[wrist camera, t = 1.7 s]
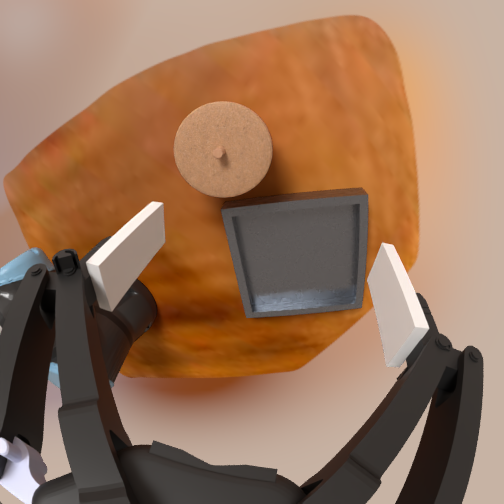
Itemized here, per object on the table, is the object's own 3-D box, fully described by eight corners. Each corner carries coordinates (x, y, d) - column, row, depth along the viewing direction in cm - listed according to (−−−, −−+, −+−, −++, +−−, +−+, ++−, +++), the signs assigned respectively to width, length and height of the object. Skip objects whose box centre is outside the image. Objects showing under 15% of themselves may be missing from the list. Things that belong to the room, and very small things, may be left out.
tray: (248, 306, 48) (246, 317, 45) (224, 201, 38) (220, 209, 35) (358, 296, 44) (361, 307, 42) (361, 187, 35) (368, 194, 32)
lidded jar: (278, 106, 31) (278, 105, 23) (269, 183, 36) (266, 208, 28) (195, 100, 31) (169, 101, 23) (192, 176, 37) (168, 198, 28)
